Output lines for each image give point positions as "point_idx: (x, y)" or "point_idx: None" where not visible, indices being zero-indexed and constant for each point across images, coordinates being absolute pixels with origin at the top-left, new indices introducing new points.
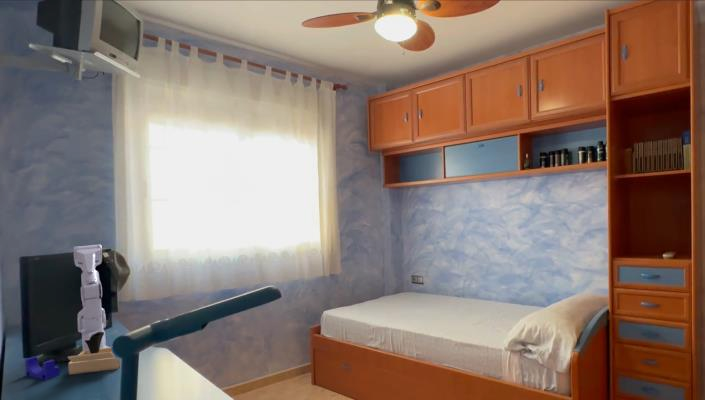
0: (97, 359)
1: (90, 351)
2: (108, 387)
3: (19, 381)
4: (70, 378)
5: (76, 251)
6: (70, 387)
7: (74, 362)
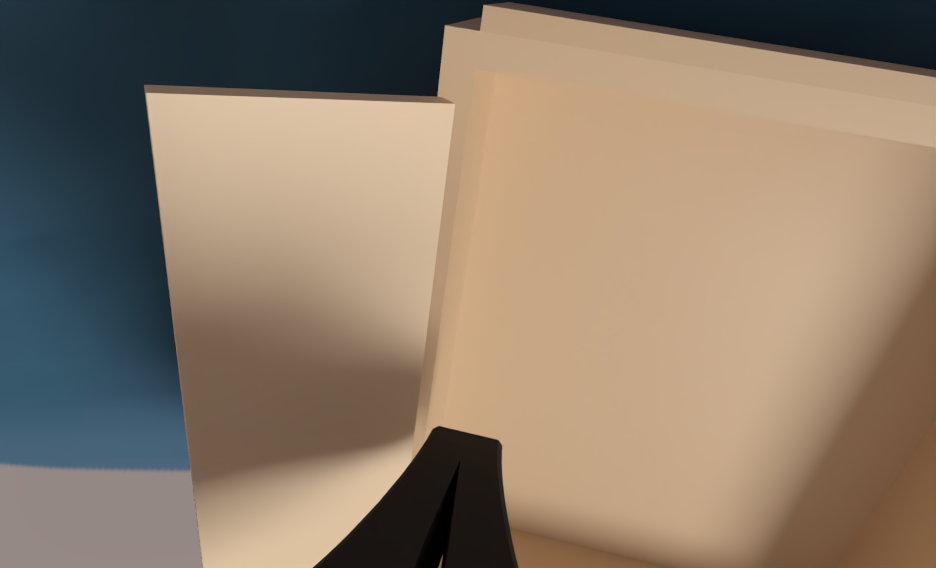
0: (914, 328)
1: (406, 469)
2: (4, 436)
3: None
4: (321, 71)
5: None
6: (37, 139)
7: (463, 127)
